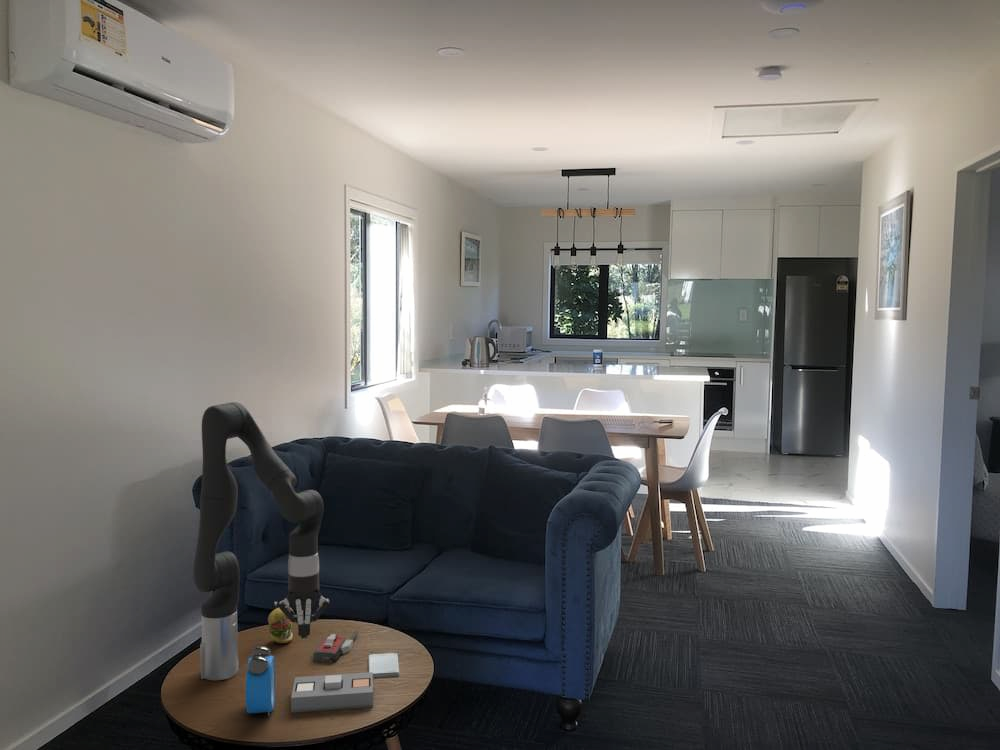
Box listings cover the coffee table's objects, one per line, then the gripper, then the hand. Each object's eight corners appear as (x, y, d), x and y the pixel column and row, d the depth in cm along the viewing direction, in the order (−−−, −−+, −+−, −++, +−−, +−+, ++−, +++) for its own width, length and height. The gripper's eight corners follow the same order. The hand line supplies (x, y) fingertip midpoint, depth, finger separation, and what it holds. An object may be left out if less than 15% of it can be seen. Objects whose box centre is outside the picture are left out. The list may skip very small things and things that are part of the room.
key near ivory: (296, 702, 202) (296, 691, 202) (298, 695, 206) (297, 684, 206) (312, 701, 203) (312, 690, 202) (313, 694, 207) (313, 682, 206)
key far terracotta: (353, 698, 204) (352, 687, 204) (353, 691, 208) (353, 679, 208) (368, 697, 205) (368, 686, 205) (369, 689, 209) (368, 678, 209)
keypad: (291, 712, 199) (291, 697, 198) (295, 691, 209) (295, 677, 209) (373, 706, 202) (372, 692, 201) (372, 685, 213) (372, 672, 212)
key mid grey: (324, 694, 203) (324, 683, 203) (325, 687, 207) (325, 675, 207) (341, 693, 204) (340, 682, 203) (341, 685, 208) (341, 674, 207)
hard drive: (399, 672, 218) (397, 652, 231) (368, 674, 217) (368, 654, 229) (399, 677, 219) (397, 657, 231) (368, 679, 217) (368, 659, 229)
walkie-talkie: (341, 665, 225) (360, 636, 245) (341, 650, 225) (360, 622, 245) (311, 664, 226) (332, 635, 246) (311, 649, 226) (332, 621, 246)
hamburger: (284, 648, 235) (283, 608, 234) (263, 644, 238) (262, 605, 237) (298, 637, 243) (298, 599, 242) (277, 634, 245) (277, 596, 244)
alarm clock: (271, 722, 194) (270, 662, 193) (245, 724, 193) (243, 664, 191) (275, 696, 207) (274, 640, 205) (250, 698, 206) (249, 641, 204)
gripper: (274, 576, 197) (275, 644, 198) (329, 574, 199) (330, 641, 200) (278, 566, 204) (279, 632, 206) (331, 564, 206) (331, 629, 208)
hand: (304, 636), depth 203 cm, fingers closed
